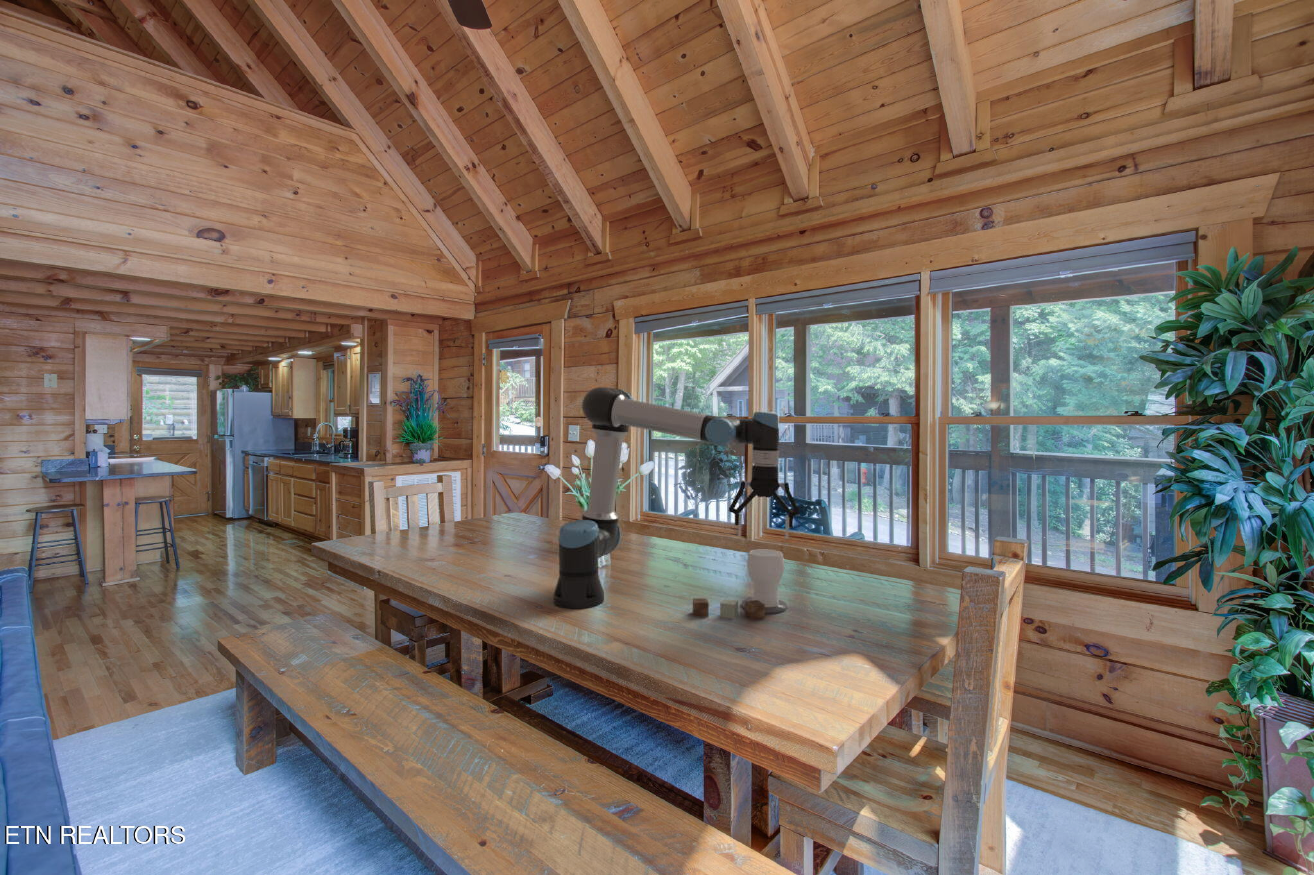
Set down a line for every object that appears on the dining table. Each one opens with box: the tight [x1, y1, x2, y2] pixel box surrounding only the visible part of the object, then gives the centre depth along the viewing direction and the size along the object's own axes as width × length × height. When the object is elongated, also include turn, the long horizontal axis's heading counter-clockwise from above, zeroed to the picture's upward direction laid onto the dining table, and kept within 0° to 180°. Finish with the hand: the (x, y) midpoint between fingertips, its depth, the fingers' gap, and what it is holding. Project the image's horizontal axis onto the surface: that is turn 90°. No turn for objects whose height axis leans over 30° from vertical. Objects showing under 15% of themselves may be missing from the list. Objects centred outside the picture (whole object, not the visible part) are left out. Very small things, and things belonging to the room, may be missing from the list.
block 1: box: [692, 597, 710, 618], centre depth 164 cm, size 4×4×4 cm
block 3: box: [744, 600, 766, 621], centre depth 162 cm, size 4×4×4 cm
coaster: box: [740, 596, 787, 615], centre depth 171 cm, size 13×13×1 cm
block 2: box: [719, 598, 739, 620], centre depth 163 cm, size 4×4×4 cm
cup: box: [747, 548, 785, 607], centre depth 171 cm, size 11×11×15 cm
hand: (763, 537), depth 171 cm, fingers open, 13 cm apart
